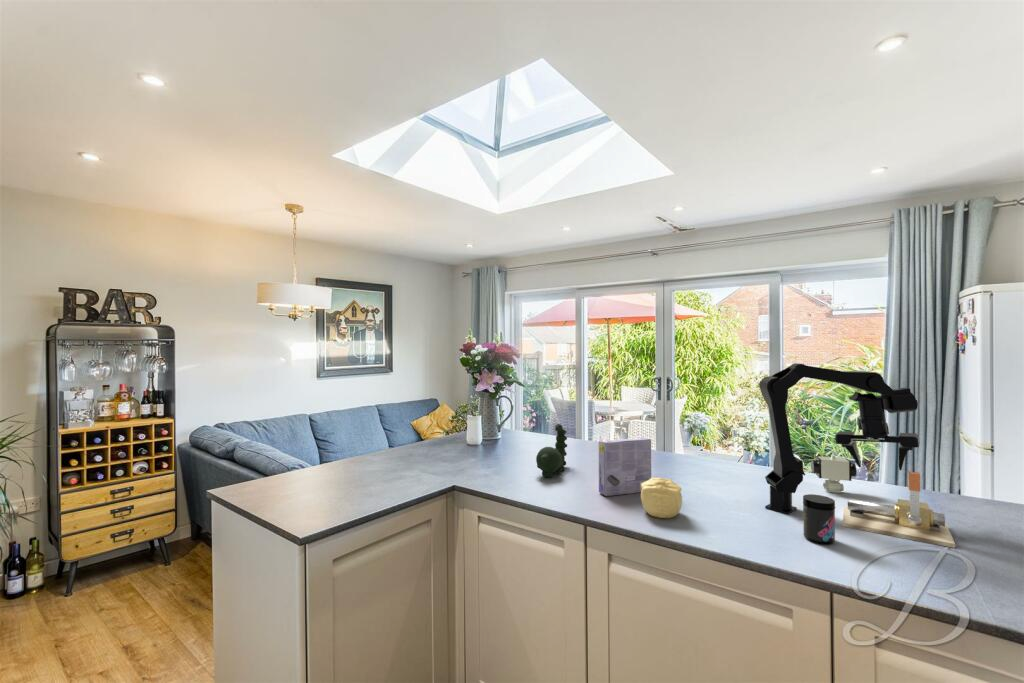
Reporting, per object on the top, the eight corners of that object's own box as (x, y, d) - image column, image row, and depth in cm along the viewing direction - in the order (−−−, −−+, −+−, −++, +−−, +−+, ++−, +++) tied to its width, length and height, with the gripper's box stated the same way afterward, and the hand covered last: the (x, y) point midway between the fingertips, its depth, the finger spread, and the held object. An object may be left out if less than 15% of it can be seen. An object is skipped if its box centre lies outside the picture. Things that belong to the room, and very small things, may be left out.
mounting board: (842, 526, 123) (842, 522, 123) (844, 509, 135) (844, 506, 135) (955, 548, 110) (955, 543, 110) (946, 527, 122) (946, 523, 122)
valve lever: (907, 525, 118) (907, 472, 118) (907, 522, 120) (906, 471, 120) (922, 527, 116) (921, 474, 116) (921, 525, 118) (920, 472, 118)
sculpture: (639, 519, 129) (639, 481, 129) (642, 505, 141) (642, 470, 141) (682, 524, 125) (682, 485, 125) (682, 509, 137) (681, 473, 137)
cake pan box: (646, 486, 158) (645, 435, 158) (655, 490, 154) (654, 438, 154) (597, 492, 152) (596, 440, 152) (605, 497, 148) (604, 443, 148)
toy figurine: (550, 468, 188) (529, 479, 165) (551, 422, 190) (530, 427, 167) (572, 470, 185) (554, 482, 162) (573, 423, 186) (555, 428, 163)
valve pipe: (847, 516, 128) (847, 496, 128) (848, 510, 132) (848, 491, 132) (945, 533, 115) (945, 511, 115) (942, 527, 119) (942, 505, 119)
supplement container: (813, 545, 112) (812, 503, 112) (797, 534, 119) (797, 494, 119) (841, 546, 111) (841, 503, 111) (824, 534, 118) (824, 494, 118)
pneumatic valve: (857, 496, 146) (856, 458, 146) (814, 491, 151) (813, 455, 151) (851, 490, 151) (851, 454, 151) (810, 486, 156) (810, 451, 156)
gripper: (916, 409, 131) (924, 463, 131) (838, 409, 144) (845, 458, 144) (914, 417, 123) (922, 474, 123) (831, 416, 136) (838, 468, 136)
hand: (879, 468), depth 131 cm, fingers open, 9 cm apart
